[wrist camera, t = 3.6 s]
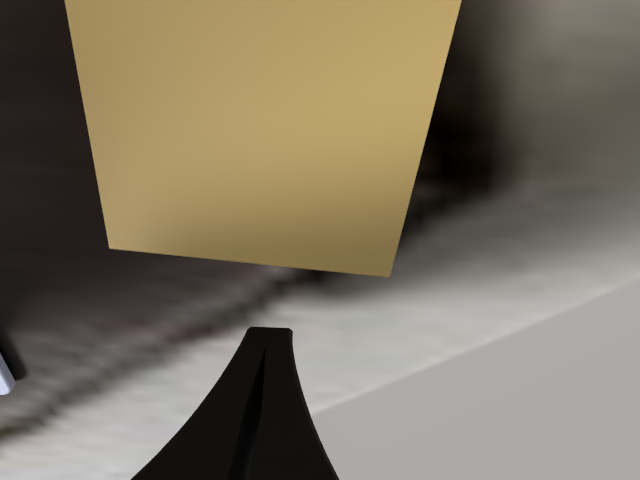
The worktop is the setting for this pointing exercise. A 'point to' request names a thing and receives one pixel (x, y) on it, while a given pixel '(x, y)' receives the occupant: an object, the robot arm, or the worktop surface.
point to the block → (260, 124)
